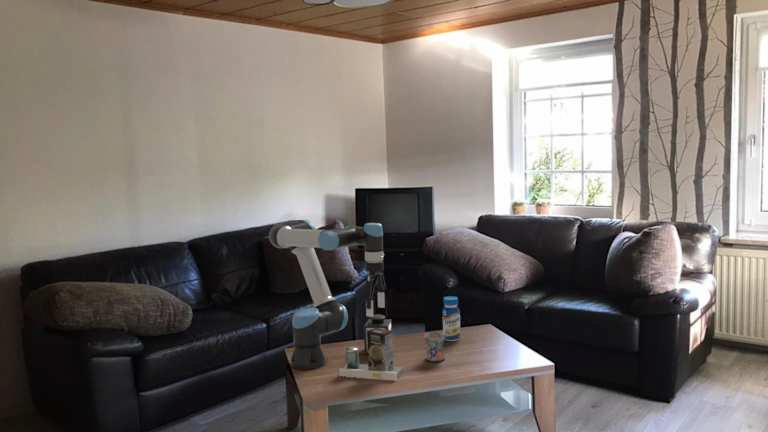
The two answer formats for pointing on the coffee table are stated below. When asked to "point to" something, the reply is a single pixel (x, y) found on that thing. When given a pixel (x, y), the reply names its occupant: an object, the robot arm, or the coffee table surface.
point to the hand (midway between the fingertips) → (375, 311)
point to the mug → (434, 346)
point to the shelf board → (371, 373)
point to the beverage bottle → (451, 319)
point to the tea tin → (352, 357)
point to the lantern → (376, 325)
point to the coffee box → (380, 349)
